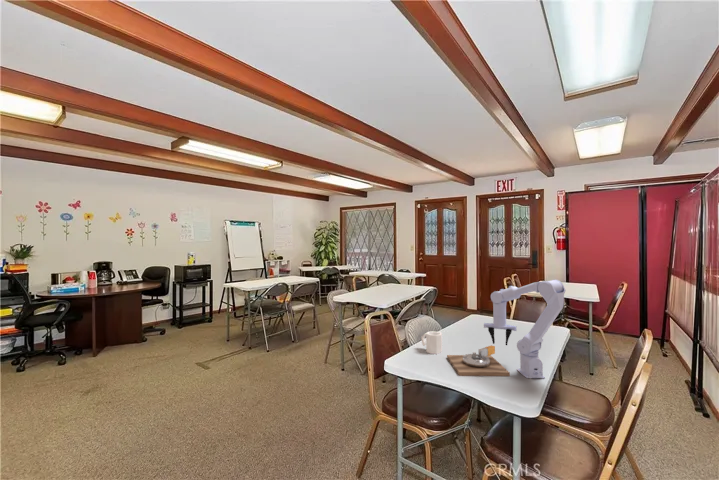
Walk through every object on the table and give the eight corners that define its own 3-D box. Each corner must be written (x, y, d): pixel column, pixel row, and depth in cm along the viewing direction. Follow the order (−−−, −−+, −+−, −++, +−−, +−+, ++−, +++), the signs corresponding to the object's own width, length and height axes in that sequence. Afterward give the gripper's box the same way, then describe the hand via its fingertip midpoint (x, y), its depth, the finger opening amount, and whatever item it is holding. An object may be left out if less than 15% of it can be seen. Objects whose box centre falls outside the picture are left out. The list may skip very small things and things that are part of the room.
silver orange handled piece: (478, 369, 144) (478, 357, 144) (457, 361, 154) (457, 349, 154) (504, 360, 154) (504, 349, 154) (482, 353, 164) (482, 342, 164)
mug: (445, 351, 173) (444, 333, 174) (437, 355, 167) (436, 336, 167) (425, 346, 182) (425, 329, 182) (417, 350, 175) (417, 332, 175)
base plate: (509, 376, 141) (509, 372, 141) (459, 375, 141) (459, 371, 141) (490, 357, 163) (490, 354, 163) (446, 357, 164) (446, 354, 164)
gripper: (516, 315, 156) (516, 343, 156) (484, 312, 163) (484, 339, 162) (516, 318, 150) (516, 347, 149) (483, 315, 156) (483, 343, 156)
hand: (500, 343), depth 155 cm, fingers open, 5 cm apart
